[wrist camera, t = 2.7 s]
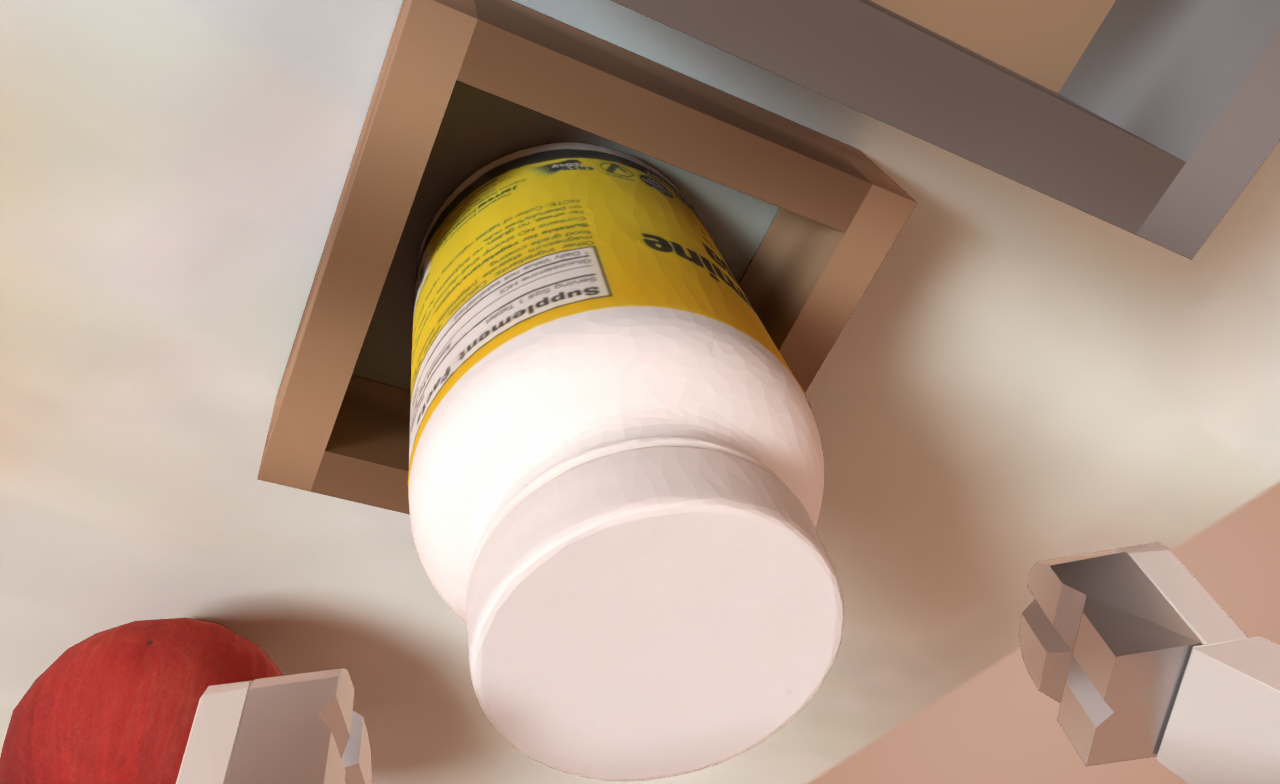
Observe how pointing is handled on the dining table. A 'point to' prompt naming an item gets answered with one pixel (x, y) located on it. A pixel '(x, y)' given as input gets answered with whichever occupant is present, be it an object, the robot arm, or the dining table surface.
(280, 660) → the dining table surface
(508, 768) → the dining table surface
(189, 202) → the dining table surface
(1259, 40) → the stepped holder
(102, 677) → the onion
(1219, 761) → the robot arm
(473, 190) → the pill bottle
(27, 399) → the dining table surface
